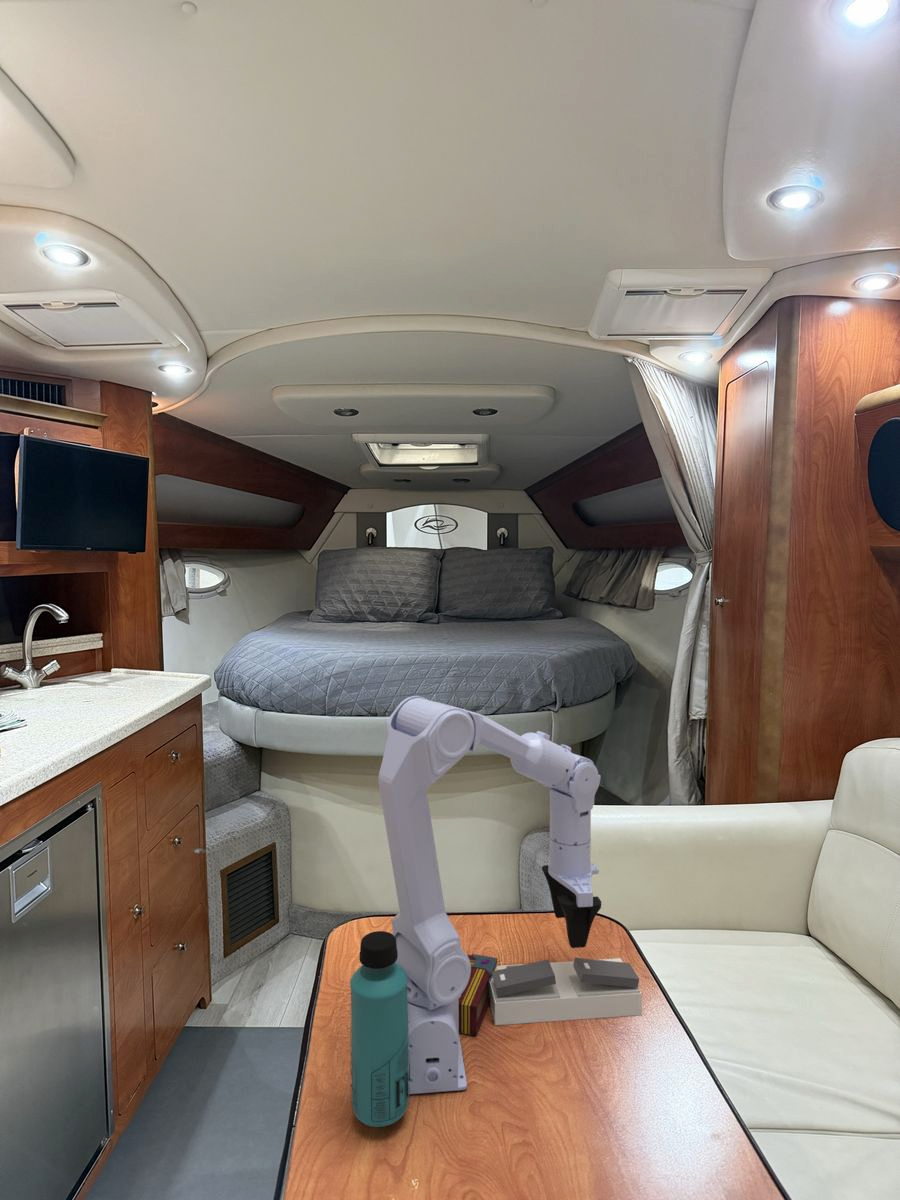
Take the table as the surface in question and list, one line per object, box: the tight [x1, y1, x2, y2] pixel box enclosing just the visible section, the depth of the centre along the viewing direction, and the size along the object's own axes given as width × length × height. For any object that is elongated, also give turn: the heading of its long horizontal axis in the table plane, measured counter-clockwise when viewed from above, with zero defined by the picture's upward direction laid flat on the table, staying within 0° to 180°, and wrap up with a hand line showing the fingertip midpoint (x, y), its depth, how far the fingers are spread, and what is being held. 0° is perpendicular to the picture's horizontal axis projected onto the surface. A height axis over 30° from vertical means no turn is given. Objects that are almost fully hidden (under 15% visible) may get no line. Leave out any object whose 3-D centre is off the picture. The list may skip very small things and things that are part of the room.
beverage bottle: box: [349, 930, 411, 1128], centre depth 71 cm, size 6×7×20 cm
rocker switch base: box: [488, 957, 643, 1026], centre depth 91 cm, size 8×20×3 cm, turn 96°
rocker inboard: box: [492, 958, 556, 997], centre depth 88 cm, size 4×8×1 cm, turn 96°
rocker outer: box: [573, 957, 640, 988], centre depth 89 cm, size 4×8×1 cm, turn 96°
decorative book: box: [459, 953, 498, 1037], centre depth 91 cm, size 11×16×5 cm
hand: (569, 930), depth 93 cm, fingers open, 7 cm apart
